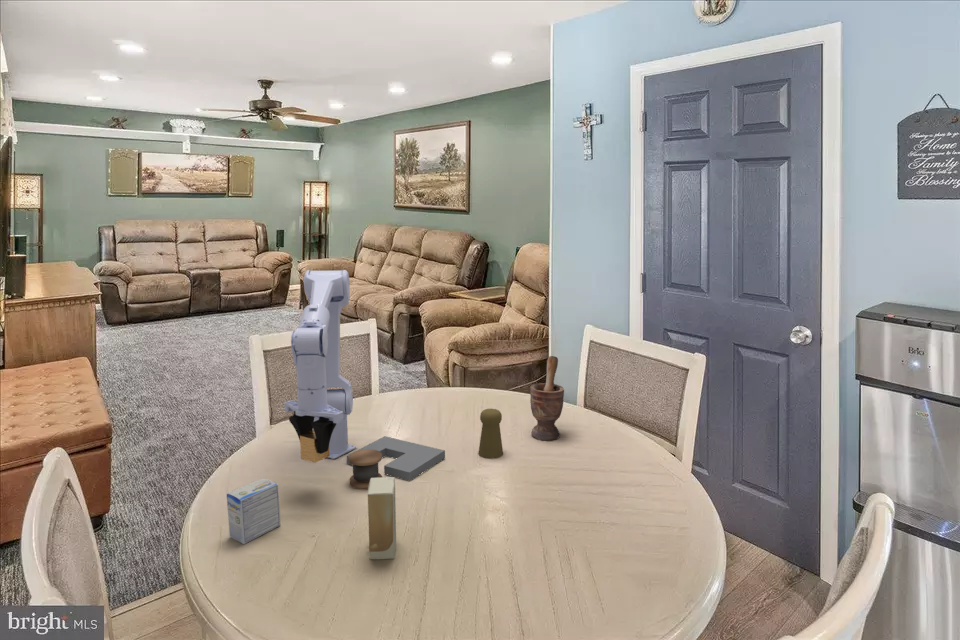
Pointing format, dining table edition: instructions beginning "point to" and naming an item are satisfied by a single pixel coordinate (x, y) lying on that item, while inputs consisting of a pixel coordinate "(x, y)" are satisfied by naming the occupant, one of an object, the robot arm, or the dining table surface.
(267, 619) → the dining table surface
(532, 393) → the mortar and pestle
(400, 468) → the notched board
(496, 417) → the olive pawn
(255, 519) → the medicine box
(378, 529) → the skincare box
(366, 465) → the bobbin
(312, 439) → the block
